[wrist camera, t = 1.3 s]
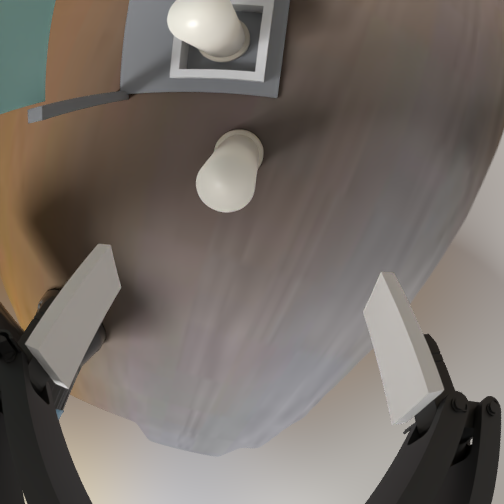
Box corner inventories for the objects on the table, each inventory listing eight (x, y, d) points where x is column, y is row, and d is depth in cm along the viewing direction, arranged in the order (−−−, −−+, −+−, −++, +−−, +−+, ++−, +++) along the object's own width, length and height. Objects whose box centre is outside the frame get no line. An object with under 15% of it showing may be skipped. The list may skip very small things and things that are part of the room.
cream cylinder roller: (214, 172, 28) (189, 213, 19) (217, 127, 25) (191, 148, 17) (260, 177, 28) (256, 221, 19) (266, 132, 25) (265, 155, 17)
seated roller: (196, 62, 21) (157, 50, 12) (201, 18, 18) (166, -13, 10) (247, 64, 21) (235, 49, 12) (253, 19, 18) (244, -17, 10)
